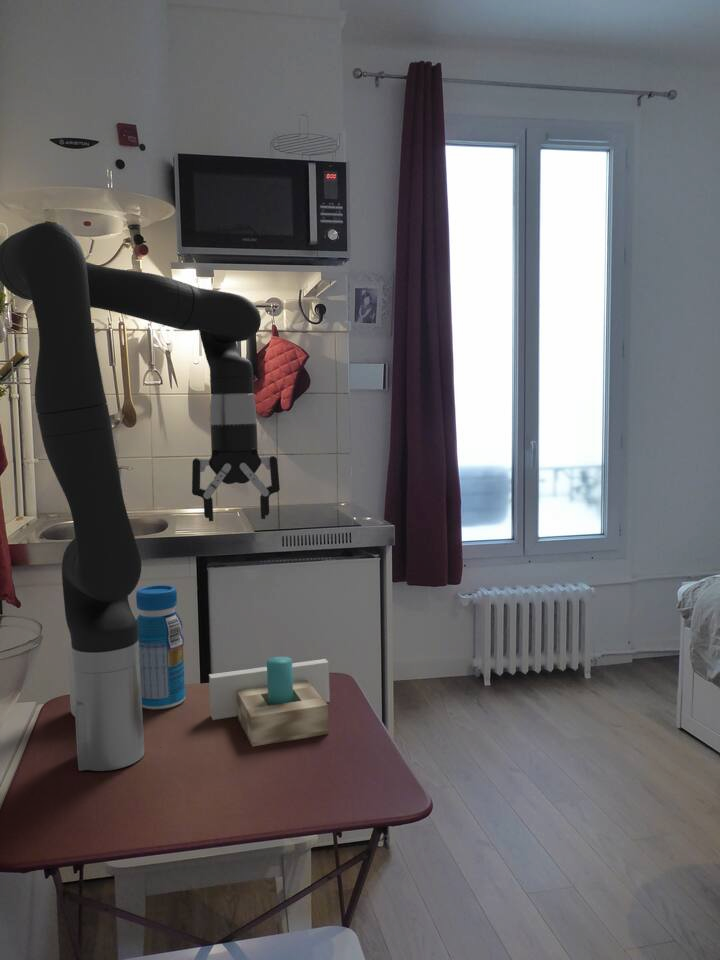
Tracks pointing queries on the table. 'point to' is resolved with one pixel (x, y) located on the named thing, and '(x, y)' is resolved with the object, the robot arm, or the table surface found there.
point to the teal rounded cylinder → (279, 680)
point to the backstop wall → (261, 684)
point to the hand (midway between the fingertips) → (237, 519)
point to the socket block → (282, 715)
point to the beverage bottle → (160, 647)
